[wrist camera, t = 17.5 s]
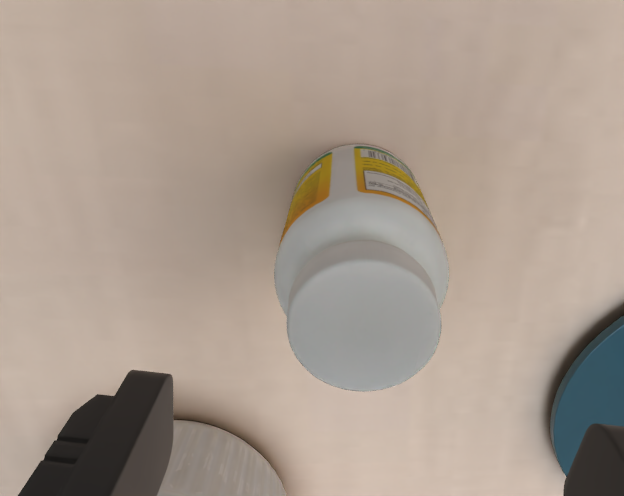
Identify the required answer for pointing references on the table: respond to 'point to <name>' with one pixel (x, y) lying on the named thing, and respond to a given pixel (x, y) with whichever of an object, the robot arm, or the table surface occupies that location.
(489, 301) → the table surface
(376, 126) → the table surface
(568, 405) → the lid
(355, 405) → the table surface
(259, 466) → the ramekin
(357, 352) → the supplement bottle
